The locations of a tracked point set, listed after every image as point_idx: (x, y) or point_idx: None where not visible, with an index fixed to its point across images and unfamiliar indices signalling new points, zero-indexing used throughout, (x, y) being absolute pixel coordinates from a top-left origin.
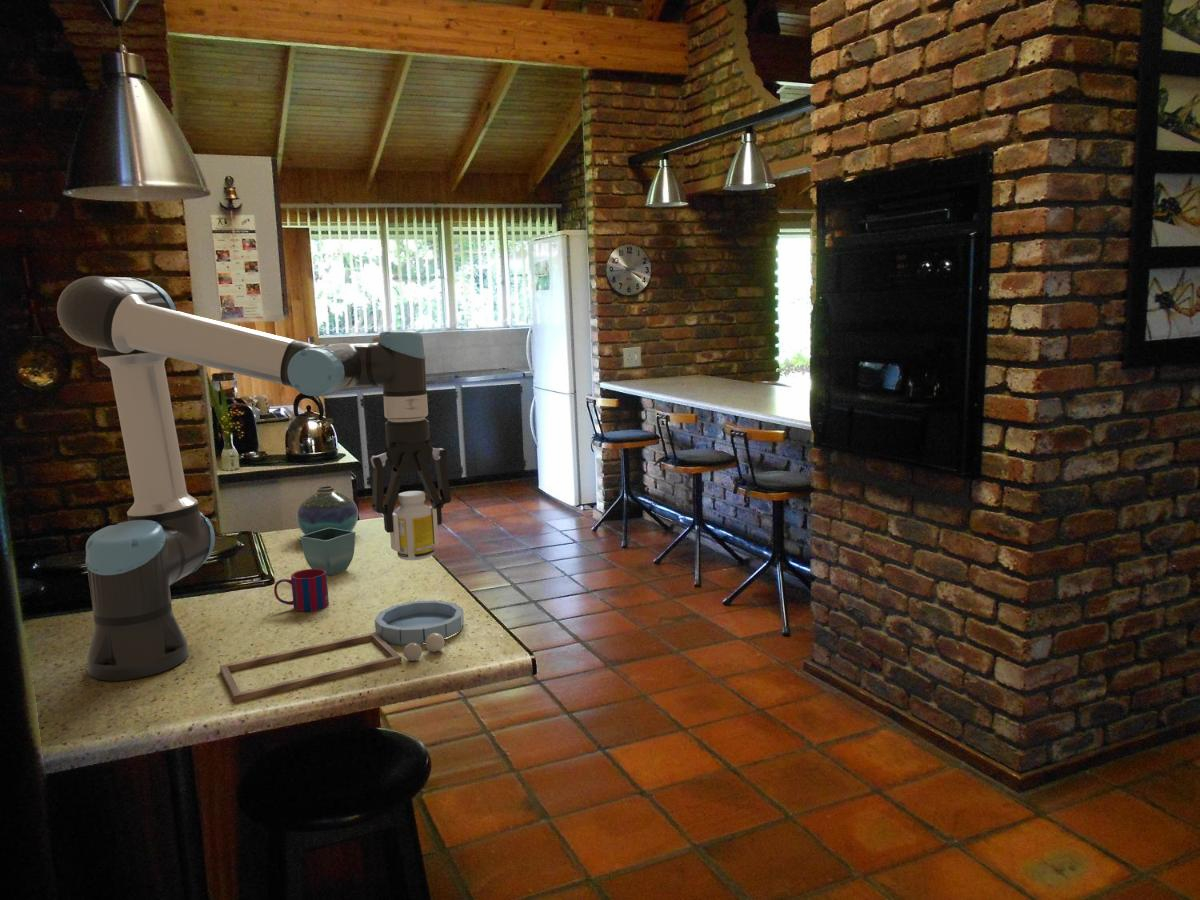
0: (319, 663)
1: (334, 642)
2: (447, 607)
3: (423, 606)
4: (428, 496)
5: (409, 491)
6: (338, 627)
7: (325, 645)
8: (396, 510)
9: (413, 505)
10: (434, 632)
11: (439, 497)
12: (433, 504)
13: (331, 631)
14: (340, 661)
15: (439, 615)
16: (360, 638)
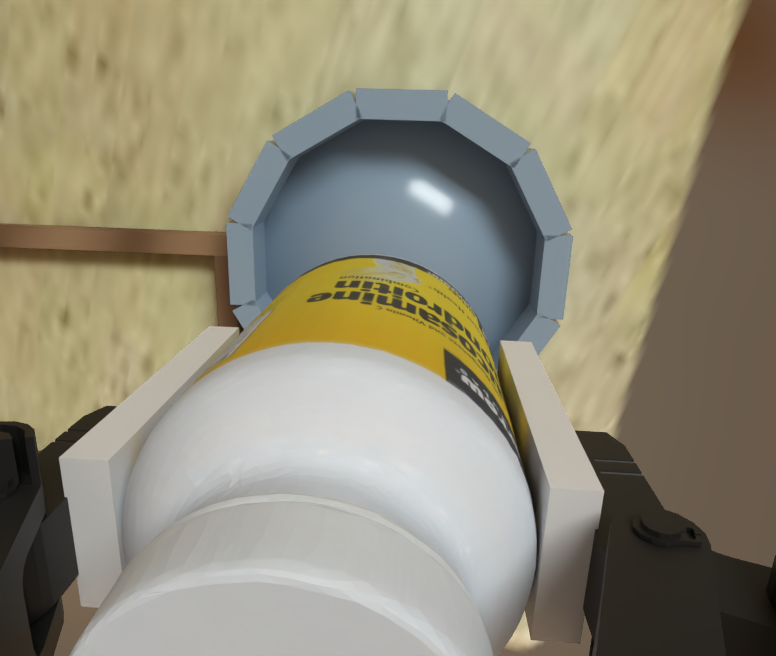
0: (35, 336)
1: (84, 245)
2: (537, 226)
3: (467, 138)
4: (599, 616)
5: (298, 605)
6: (140, 26)
7: (54, 247)
8: (127, 533)
9: None
10: None
11: (747, 638)
12: (598, 604)
13: (108, 57)
14: (95, 360)
15: (504, 204)
16: (175, 253)
